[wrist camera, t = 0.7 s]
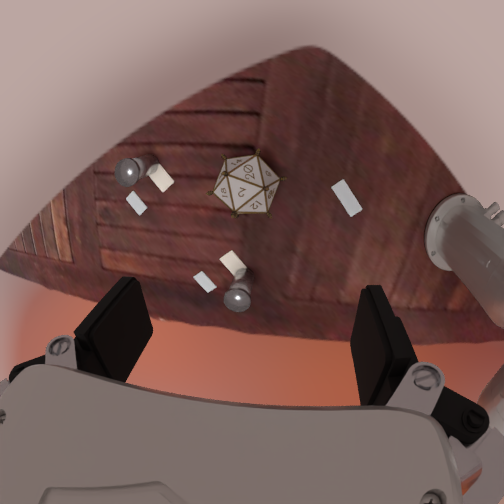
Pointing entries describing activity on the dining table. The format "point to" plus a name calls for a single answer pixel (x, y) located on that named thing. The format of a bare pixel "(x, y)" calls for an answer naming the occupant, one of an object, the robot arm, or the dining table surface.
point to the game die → (246, 185)
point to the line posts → (148, 164)
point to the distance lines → (231, 258)
